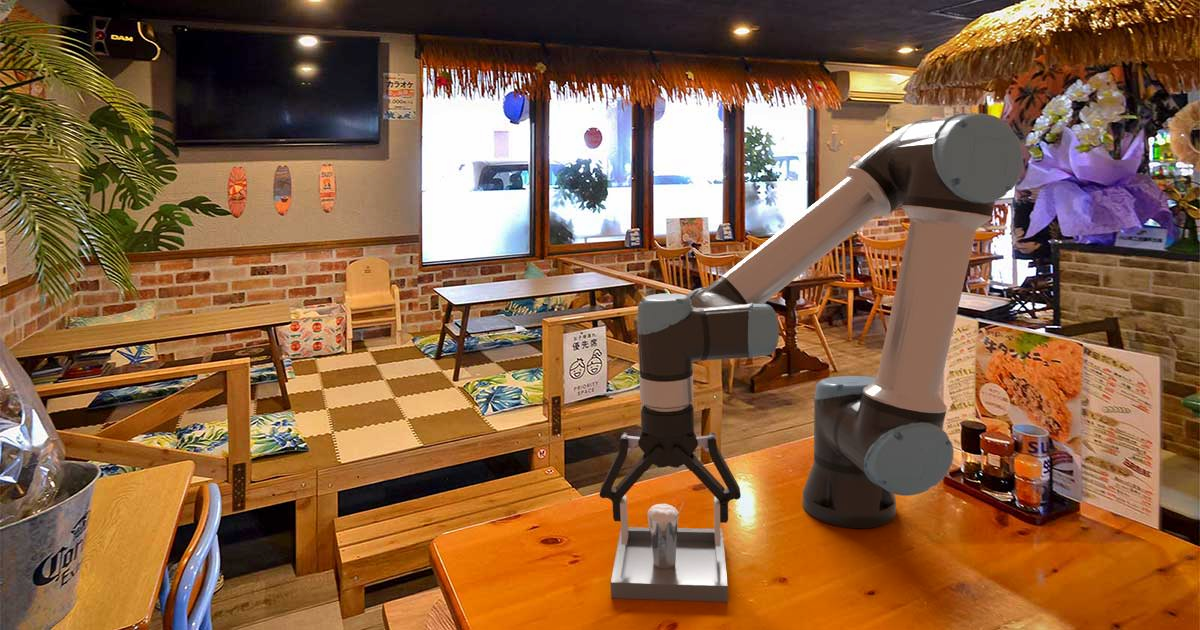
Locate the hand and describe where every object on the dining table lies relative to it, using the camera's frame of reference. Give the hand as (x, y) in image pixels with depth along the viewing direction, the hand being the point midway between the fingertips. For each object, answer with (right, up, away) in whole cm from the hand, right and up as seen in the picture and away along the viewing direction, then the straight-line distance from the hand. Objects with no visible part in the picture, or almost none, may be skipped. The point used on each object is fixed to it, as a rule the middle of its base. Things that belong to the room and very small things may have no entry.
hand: (670, 541), depth 105 cm
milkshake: (-1, -4, +1) cm, 4 cm away
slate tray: (0, -4, +1) cm, 4 cm away
